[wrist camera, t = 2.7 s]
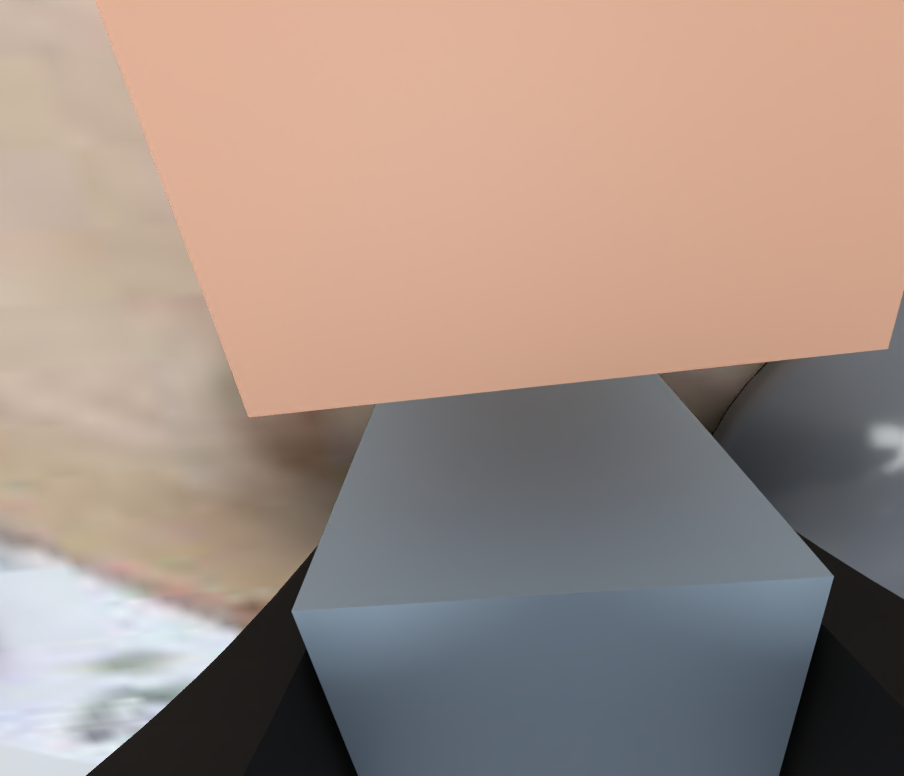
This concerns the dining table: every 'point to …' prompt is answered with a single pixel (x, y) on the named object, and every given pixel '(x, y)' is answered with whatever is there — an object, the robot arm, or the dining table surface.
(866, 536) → the slate coaster
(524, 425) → the blue cube
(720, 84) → the terracotta cube
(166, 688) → the dining table surface
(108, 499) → the dining table surface
